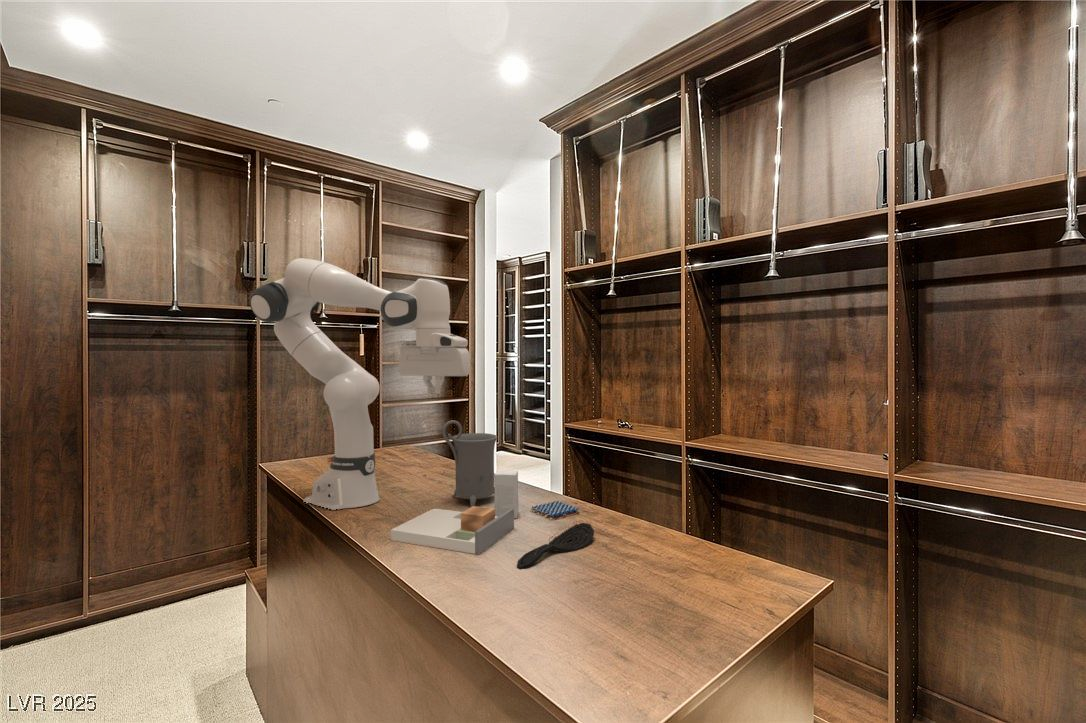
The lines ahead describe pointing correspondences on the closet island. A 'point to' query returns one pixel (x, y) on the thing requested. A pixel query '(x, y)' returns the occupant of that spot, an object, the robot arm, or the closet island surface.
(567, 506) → the woven mat
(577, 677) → the closet island surface
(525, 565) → the hairbrush
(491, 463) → the mug
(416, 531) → the trap deck
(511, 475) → the skincare box
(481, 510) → the block
